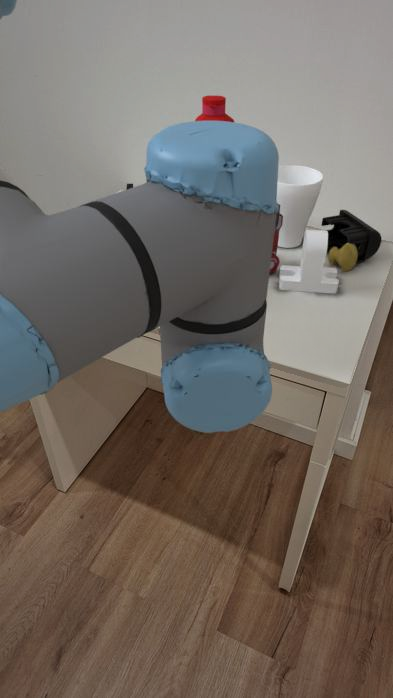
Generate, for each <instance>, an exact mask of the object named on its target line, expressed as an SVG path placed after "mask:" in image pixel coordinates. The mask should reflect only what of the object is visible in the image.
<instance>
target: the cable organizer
mask: <svg viewBox="0 0 393 698" xmlns="http://www.w3.org/2000/svg"><path fill="white" fill-rule="evenodd" d="M327 245H328V231H325V230H319V229H305V231H304V235H303V243H302V249H301V256H300V263H299V265H286V264H283V265H279V266H280V267H279V275H278V279H279V281H278V282H279V283H278V288H279V290H281V291H290V292H291V291H292V292H304V293H305V292H306V293H320V294H332V295H333V294H337V292H338V287H339V283H340V279H339V278H337V277H338V270H337V268H336V267H326V266H325V263H326V259H327V254H328V253H327Z"/></svg>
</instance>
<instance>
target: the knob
mask: <svg viewBox="0 0 393 698" xmlns="http://www.w3.org/2000/svg"><path fill="white" fill-rule="evenodd" d="M357 257H358V252H357V248H356V246H355V244H350V243H346V244H345V245H344V246H343V247H342V248H341V249H340V250H339V249H338V248H337V247H333V248H332V249H331V250H330V252H329V254H328V262H329V264H330V265H336V264H338V266H339V267H340V268H341V270H342V271H344V272H350V271H352V270H353V268H354V267H355V266H356V265H357V264H356V261H357Z"/></svg>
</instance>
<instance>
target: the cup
mask: <svg viewBox="0 0 393 698" xmlns="http://www.w3.org/2000/svg"><path fill="white" fill-rule="evenodd" d="M324 178H325V177H324V174H323V173H322V172H321V171H319V170H318V169H316V168H312V167H309V166H305V165H297V164H286V165H278V181H277V199H276V201H277V203H278V204H280V214H281V215H282V216H283V222H282V227H281V228H280V230H279V239H278V247H279V248H284V249H293V248H296V247H299V246H301V245H302V241H303V239H304V236H305V231H306V228H307V225H308V223H309V221H310V219H311V216H312V214H313V211H314V209H315V206H316V204H317V201H318V199H319V195H320V193H321V190H322V186H323V181H324Z"/></svg>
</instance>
